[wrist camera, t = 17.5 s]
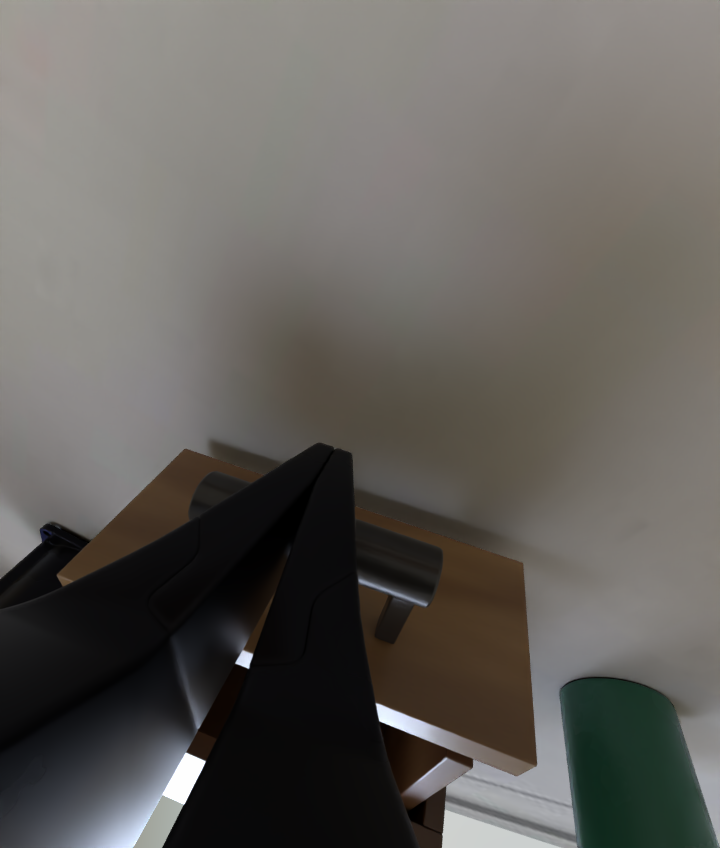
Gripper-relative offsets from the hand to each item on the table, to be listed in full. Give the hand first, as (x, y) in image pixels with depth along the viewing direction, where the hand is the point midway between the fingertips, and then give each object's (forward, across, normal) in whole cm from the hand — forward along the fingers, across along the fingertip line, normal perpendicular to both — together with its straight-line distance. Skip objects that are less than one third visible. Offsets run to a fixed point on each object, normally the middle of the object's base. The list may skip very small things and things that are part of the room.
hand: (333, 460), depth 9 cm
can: (+4, -15, +14) cm, 21 cm away
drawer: (+3, 0, +11) cm, 11 cm away
